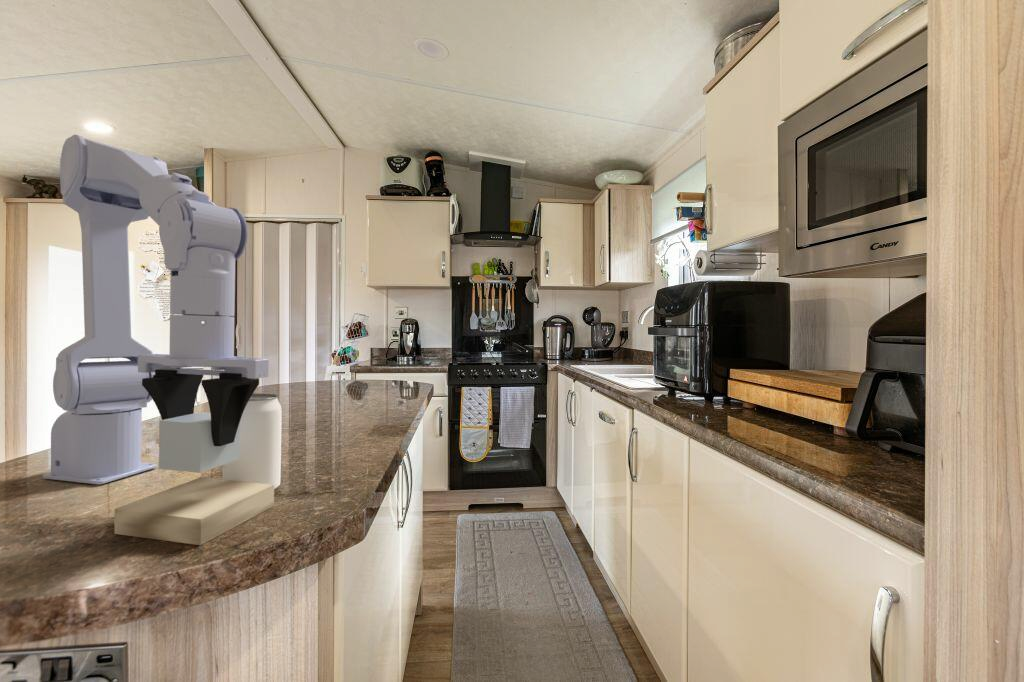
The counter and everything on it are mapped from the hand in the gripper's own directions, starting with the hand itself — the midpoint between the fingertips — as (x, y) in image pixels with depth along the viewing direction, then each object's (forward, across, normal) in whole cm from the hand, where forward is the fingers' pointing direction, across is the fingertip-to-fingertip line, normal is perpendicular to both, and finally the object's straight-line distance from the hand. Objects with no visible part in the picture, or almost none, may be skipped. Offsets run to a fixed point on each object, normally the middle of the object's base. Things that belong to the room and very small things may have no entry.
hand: (201, 442), depth 49 cm
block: (+2, 0, 0) cm, 2 cm away
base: (+8, 0, 0) cm, 8 cm away
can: (+9, -1, +9) cm, 13 cm away
